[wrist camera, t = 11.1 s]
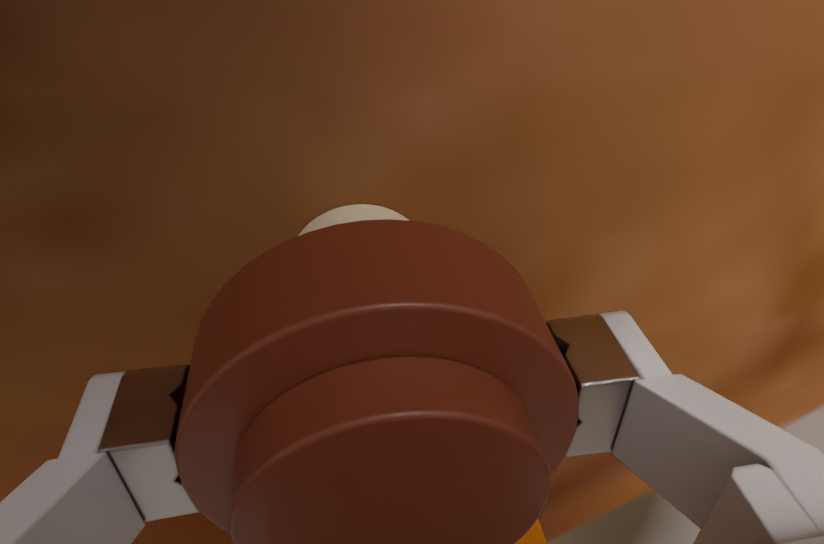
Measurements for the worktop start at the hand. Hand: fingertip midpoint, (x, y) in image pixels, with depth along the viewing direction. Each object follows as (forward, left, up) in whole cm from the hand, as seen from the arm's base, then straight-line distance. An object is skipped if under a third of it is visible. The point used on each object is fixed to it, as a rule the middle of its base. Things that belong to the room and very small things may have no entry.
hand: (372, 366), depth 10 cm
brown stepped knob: (0, 0, -3) cm, 3 cm away
